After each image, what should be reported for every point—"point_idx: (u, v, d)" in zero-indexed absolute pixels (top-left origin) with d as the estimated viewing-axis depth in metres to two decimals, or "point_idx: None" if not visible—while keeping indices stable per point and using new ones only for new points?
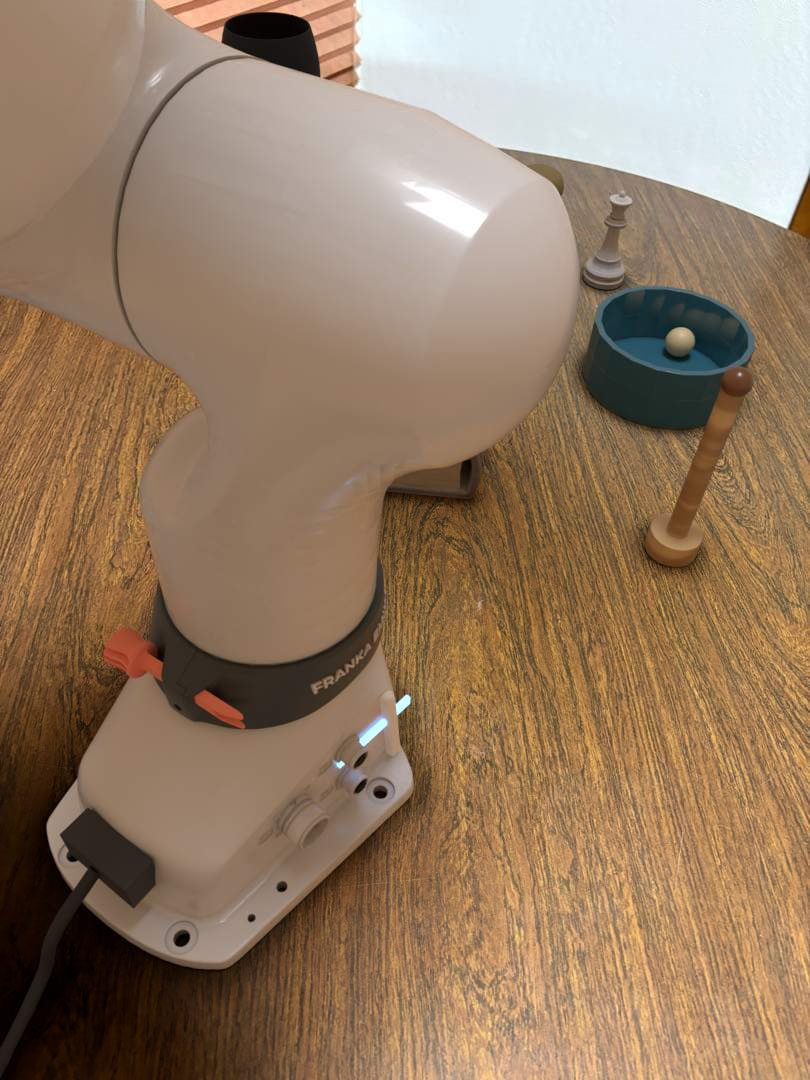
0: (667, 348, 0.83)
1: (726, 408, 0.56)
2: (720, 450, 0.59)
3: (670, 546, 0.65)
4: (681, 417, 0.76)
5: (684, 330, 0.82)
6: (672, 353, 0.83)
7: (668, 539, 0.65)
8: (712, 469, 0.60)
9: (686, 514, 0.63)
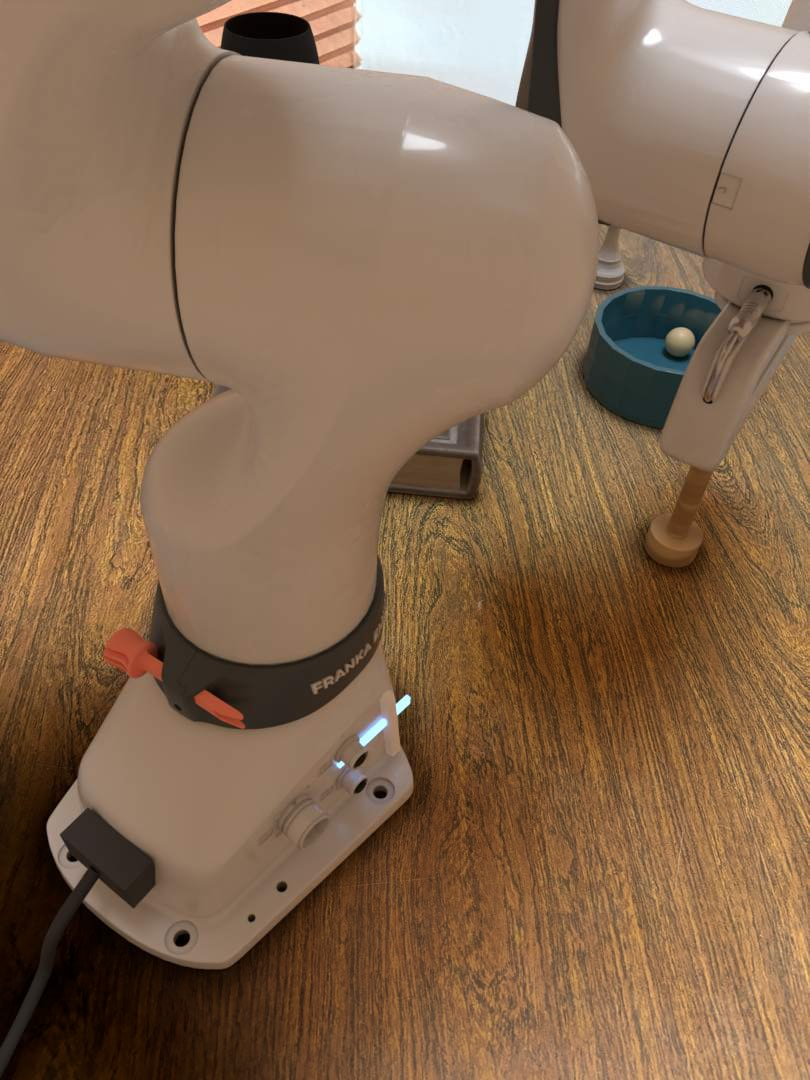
0: (667, 348, 0.83)
1: None
2: None
3: (670, 546, 0.65)
4: None
5: (684, 330, 0.82)
6: (672, 353, 0.83)
7: (668, 539, 0.65)
8: None
9: (686, 514, 0.63)
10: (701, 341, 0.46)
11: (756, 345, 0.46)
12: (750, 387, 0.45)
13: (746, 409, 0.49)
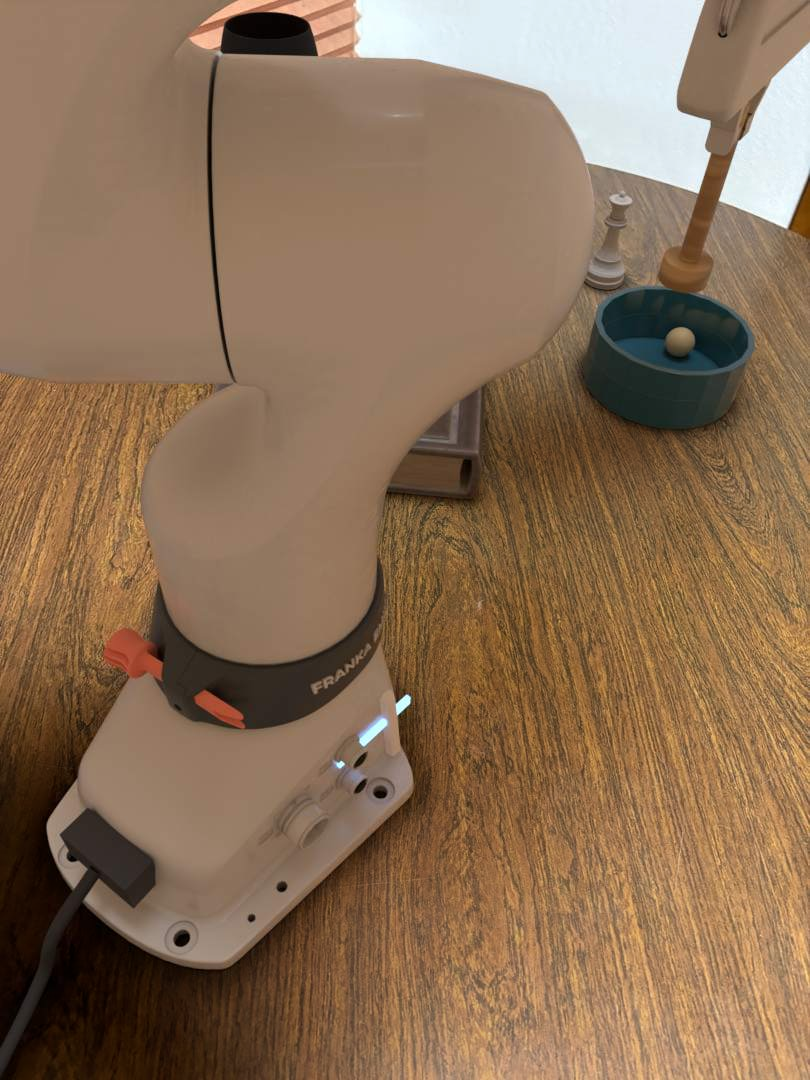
0: (667, 348, 0.83)
1: None
2: (732, 153, 0.62)
3: (682, 268, 0.68)
4: (681, 417, 0.76)
5: (684, 330, 0.82)
6: (672, 353, 0.83)
7: (681, 263, 0.69)
8: (724, 177, 0.64)
9: (699, 232, 0.67)
10: None
11: None
12: (762, 14, 0.49)
13: (758, 58, 0.52)
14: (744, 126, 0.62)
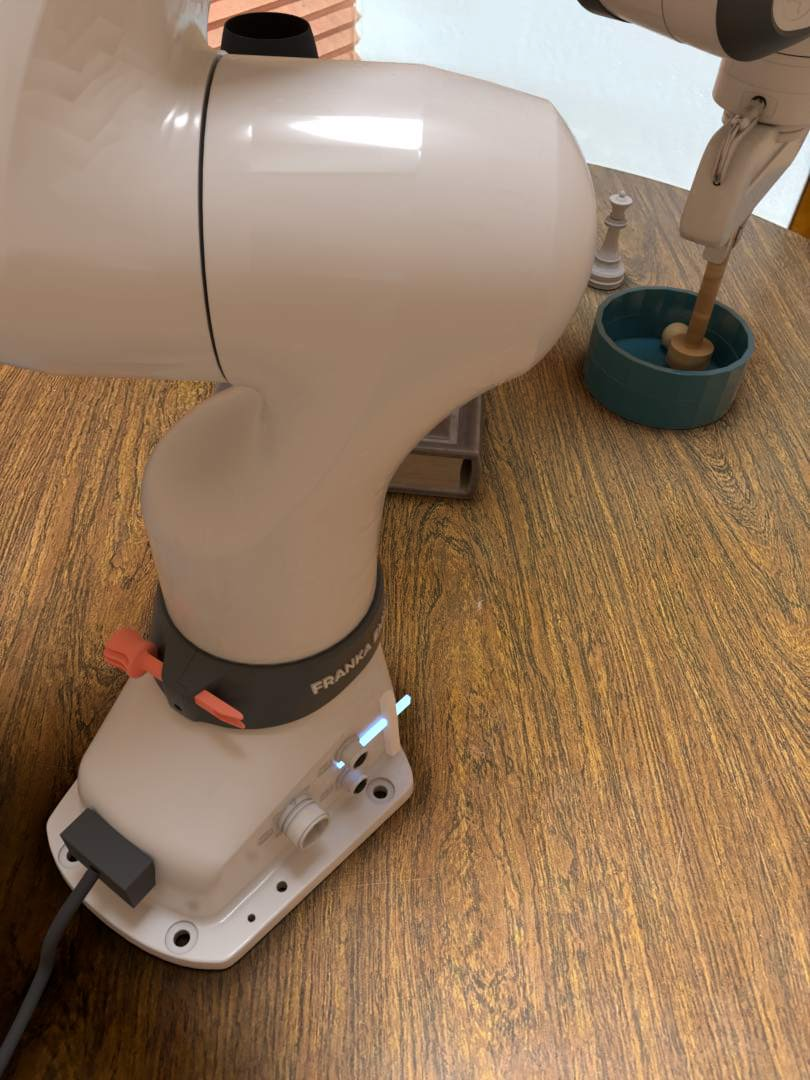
0: (665, 342, 0.83)
1: None
2: (725, 260, 0.74)
3: (685, 353, 0.79)
4: (681, 417, 0.76)
5: None
6: None
7: (684, 349, 0.80)
8: (719, 279, 0.75)
9: (699, 323, 0.78)
10: (712, 137, 0.61)
11: (753, 139, 0.61)
12: (748, 169, 0.60)
13: (746, 198, 0.64)
14: (736, 238, 0.73)
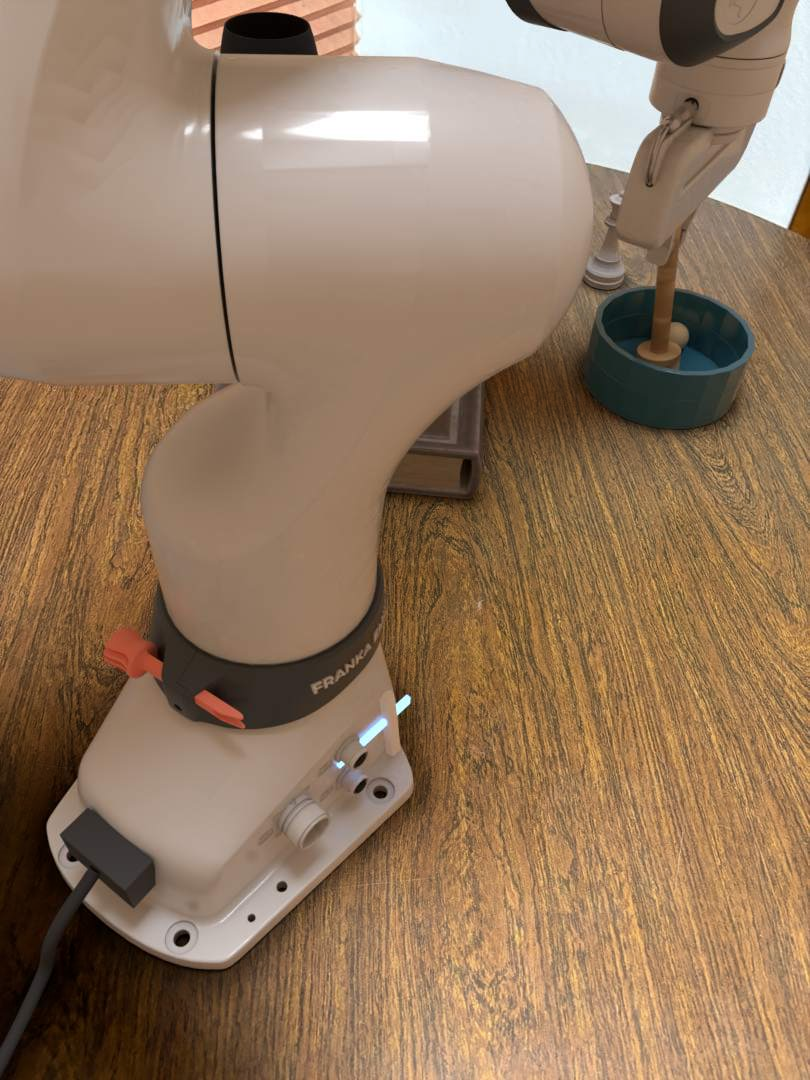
0: None
1: None
2: (671, 262, 0.74)
3: (644, 356, 0.79)
4: (681, 417, 0.76)
5: (673, 322, 0.83)
6: None
7: (647, 353, 0.80)
8: (669, 282, 0.75)
9: (657, 327, 0.78)
10: (644, 139, 0.61)
11: (684, 140, 0.61)
12: (680, 171, 0.60)
13: (681, 199, 0.64)
14: None
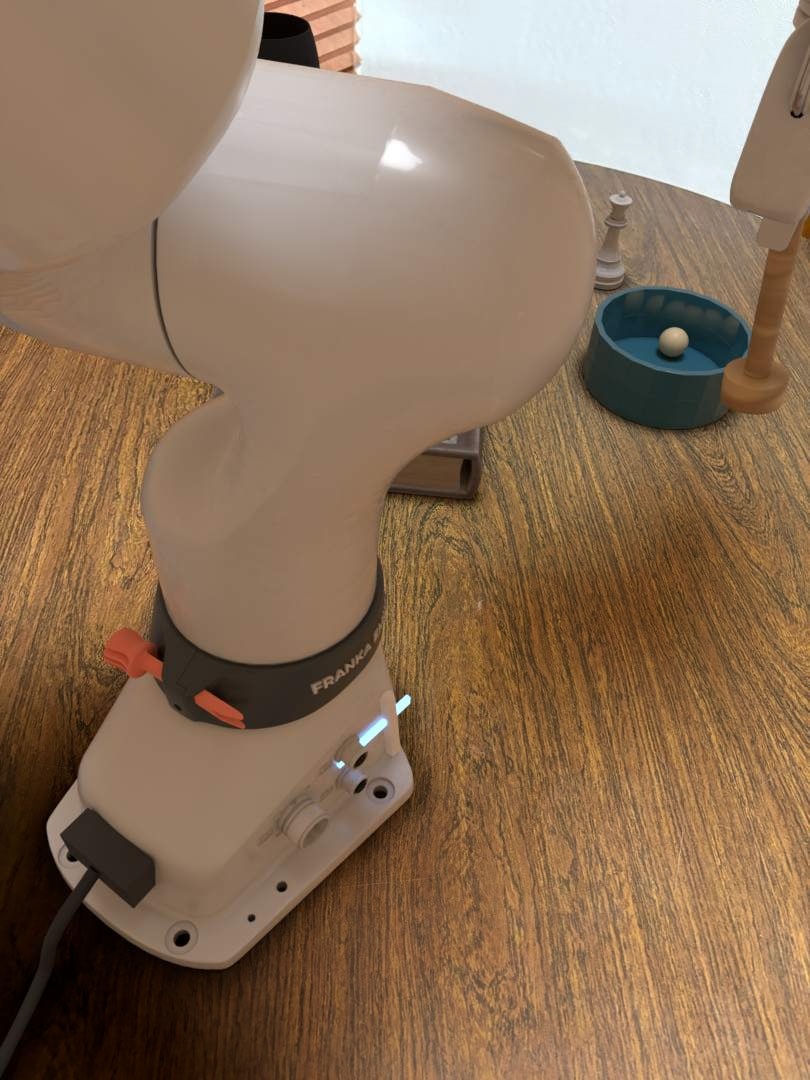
0: None
1: None
2: (790, 247, 0.49)
3: (737, 382, 0.55)
4: (681, 417, 0.76)
5: (672, 331, 0.82)
6: (666, 355, 0.83)
7: (740, 376, 0.56)
8: (784, 276, 0.51)
9: (759, 341, 0.54)
10: (789, 38, 0.37)
11: None
12: None
13: None
14: None
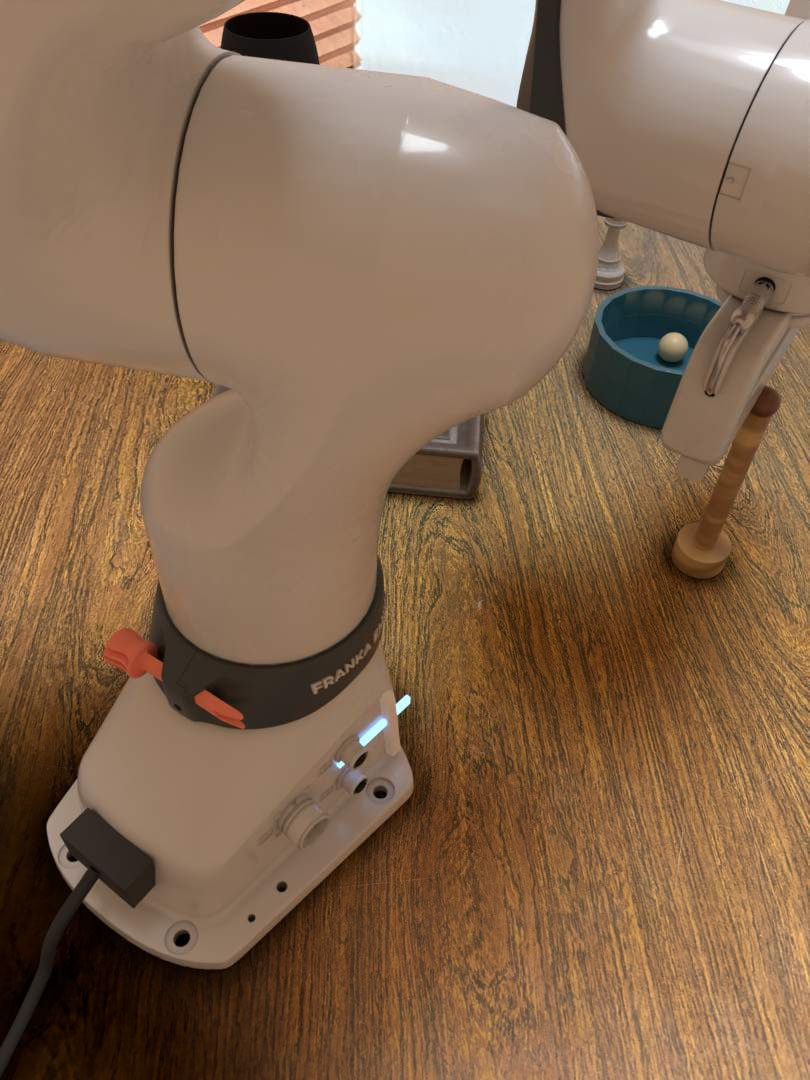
0: None
1: (747, 425, 0.55)
2: (742, 469, 0.58)
3: (686, 552, 0.64)
4: None
5: (670, 344, 0.81)
6: None
7: (689, 546, 0.65)
8: (734, 486, 0.59)
9: (708, 525, 0.62)
10: (703, 334, 0.46)
11: (758, 337, 0.45)
12: (752, 380, 0.45)
13: (748, 403, 0.48)
14: None
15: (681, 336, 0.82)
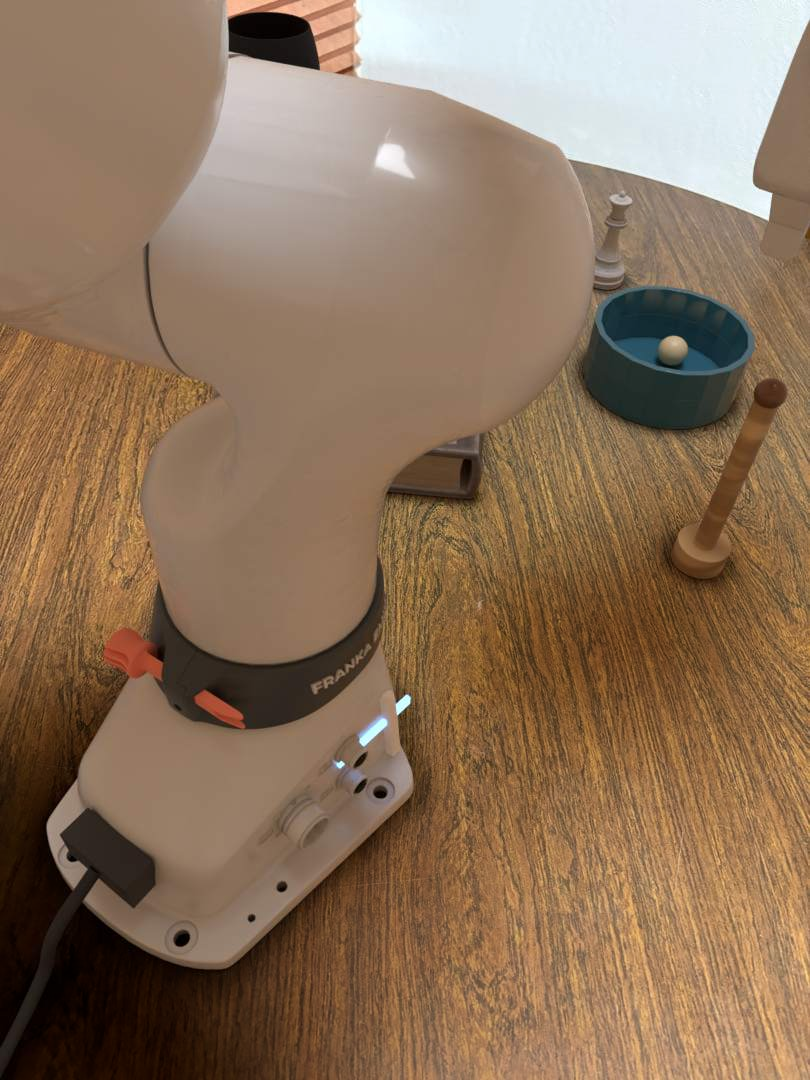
0: None
1: (753, 417, 0.56)
2: (746, 463, 0.58)
3: (687, 551, 0.64)
4: (681, 417, 0.76)
5: (668, 353, 0.81)
6: None
7: (690, 545, 0.65)
8: (738, 482, 0.59)
9: (710, 523, 0.63)
10: None
11: None
12: None
13: None
14: None
15: (680, 343, 0.81)
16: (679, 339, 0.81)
